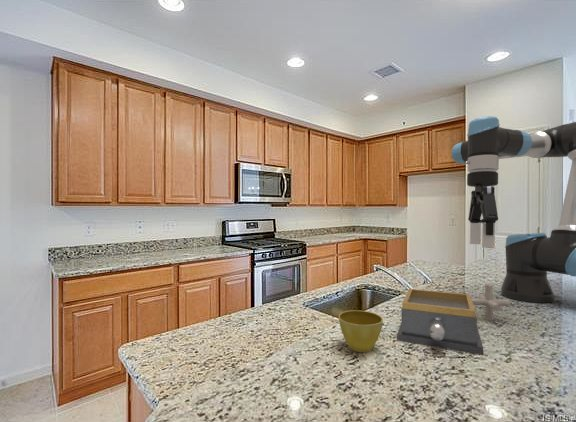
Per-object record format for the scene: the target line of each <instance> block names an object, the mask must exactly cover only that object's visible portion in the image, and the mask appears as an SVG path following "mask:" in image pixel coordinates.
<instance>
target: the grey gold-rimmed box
mask: <svg viewBox="0 0 576 422" xmlns="http://www.w3.org/2000/svg"><path fill="white" fill-rule="evenodd" d="M471 298H472V296H471V294H470V293H469V294H467V293H461V292H460V293H459V292H449V291H448V292H447V291H437V290H427V289H419V288H417V289H416V288H408V289H407V292H406V294H405V296H404V299H403V300H402V306H401V309H400V310H401V311H400V313H401V315H400V316H401V323H400V325H399V327H398V331H397V332H396V340H397V341H402V342H407V343H414V344H418V345H425V346H430V347H435V346H436V348H441V347H442V348H443V349H447V348H448V350H453V351H459V352H466V353H472V354H478V355H484V346H483V342H482V338H481V335H480V332H479V328H478V317H477V313H476V308H475V305H473V302H472V299H471Z"/></svg>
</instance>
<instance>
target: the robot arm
mask: <svg viewBox="0 0 576 422" xmlns="http://www.w3.org/2000/svg"><path fill="white" fill-rule="evenodd" d="M500 125H501V124H500V120H499V118H498V117H497V116H490V115H488V116H482V117H477V118H473V119H472V120H471V121H469V123H468V130H467V135H466V136H467V140H465V141H463V140H462V141H461V142H459V143H456V144H455V145H454V146H453V147H452V148H451V158H452V160H453V161H454V162H455V163H456V164H459V165H463V164H465V165H467V172H468V173H467V174H466V175H467V176H466V177H467V178H466V185H467V186H468V187H473V188H474V190H472V191H471V197H470V205H469V212H468V218H467V220H468V222H469V226H470V227H469V245H481V248H484V249H487V248H488V249H495V248H496V247H495V239H496V236H495V234H496V232H495V231H496V230H495V229H496V227H495V226H496V222H497V221H499V215H498V210H497V201H496V195H495V193H496V192H495V188H496V187H495V186H497V185H498V184H499V173H498V170H499V167H500V165H499V161H500V160H503V159H512V158H521V157H529V158H532V159H541V158H564V157H565V158H566V157H567V158H568V159H569V160H571V165H570V170H569V175H568V180H567V184H566V190H565V194H564V199H563V204H562V209H561V213H560V217H559V223H558V226H557V227H555V228H553V229H552V230H551V232H550V237H548V236H547V233H545V232H534V233H517V234H510V235H507V237H505V246H504V247H505V263H506V264H505V268H506V269H505V270H506V274H505V277H504V279H503V282H502V284H501V287H500V294H501V295H502V296H503V295H504V297H505V296H506V297H505V298H509V299H512V300H517V301H521V302H522V301H523V302H529V303H552V302H554V301H555V293H554V291H553V289H552V286H551V284H550V281H549V279H548V273H555V274H561V275H567V276H568V275H569V276H571V277H576V121H572V122H570V123H565V124H561V125H557V126H554V127H551V128H547V129H544V130H540V131H534V132H531V133H529V132H526V131H522V130H520V129H511V128H506V127H505V128H504V127H500Z"/></svg>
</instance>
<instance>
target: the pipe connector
mask: <svg viewBox="0 0 576 422" xmlns="http://www.w3.org/2000/svg"><path fill="white" fill-rule="evenodd" d="M493 295H494V293H493V285H492V284H487V283H486V284H484V295H483V294H479V295H478V297H477V298H472V297H471V299H472V302H473V305H474V306H485V311H484V312H485V320H486V321H489V322H492V321H494V311H496V312H499V311H501V309H502V308H501V307H510V306H511V302H510V299H501V298H499V299H495V298H494V297H493Z"/></svg>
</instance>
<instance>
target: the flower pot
mask: <svg viewBox="0 0 576 422" xmlns="http://www.w3.org/2000/svg"><path fill="white" fill-rule="evenodd" d="M338 322H339V327H340V329H341V330H340V331H341V333H342V336H343V338H344V341H345V342H346V344H347V345H348V347H349V348H350V349H351V350H352V351H354V352H358V353H367V352H368V353H369V352H370V351H372V349H373V348H374V346H375V345H376V343H377V342H378V339H379V337H380V334H381V332H382V328H383V327H382V326H383V324H384V319H383V316H381V315H379V314H378V313H375V312H371V311H368V310H367V311H366V310H357V309H356V310H355V309H354V310H346V311H343V312H341V313H340V314H338Z"/></svg>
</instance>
